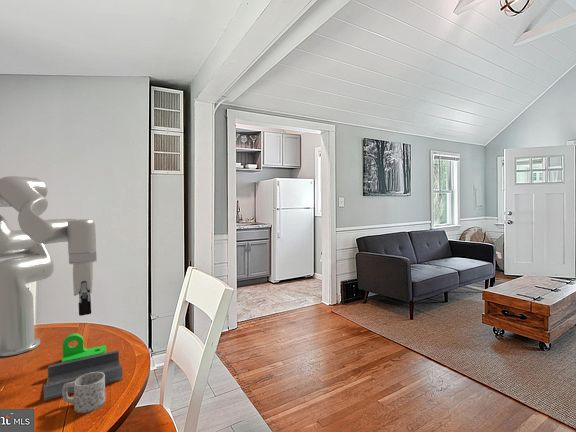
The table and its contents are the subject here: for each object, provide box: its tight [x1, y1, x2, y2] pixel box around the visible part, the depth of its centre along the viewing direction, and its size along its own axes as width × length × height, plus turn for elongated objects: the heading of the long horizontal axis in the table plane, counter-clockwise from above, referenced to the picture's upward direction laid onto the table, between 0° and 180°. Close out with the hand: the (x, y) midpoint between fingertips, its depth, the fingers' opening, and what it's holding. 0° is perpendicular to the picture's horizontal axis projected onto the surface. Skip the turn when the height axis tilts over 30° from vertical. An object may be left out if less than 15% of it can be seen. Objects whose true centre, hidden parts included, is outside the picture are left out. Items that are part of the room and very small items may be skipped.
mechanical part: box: [61, 333, 107, 363], centre depth 104 cm, size 12×6×8 cm, turn 121°
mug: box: [61, 372, 106, 414], centre depth 80 cm, size 10×7×7 cm, turn 92°
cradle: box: [43, 349, 124, 401], centre depth 92 cm, size 13×18×4 cm
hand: (85, 310), depth 102 cm, fingers open, 9 cm apart
